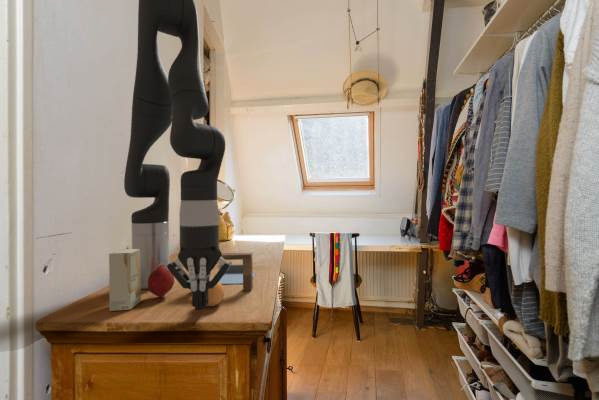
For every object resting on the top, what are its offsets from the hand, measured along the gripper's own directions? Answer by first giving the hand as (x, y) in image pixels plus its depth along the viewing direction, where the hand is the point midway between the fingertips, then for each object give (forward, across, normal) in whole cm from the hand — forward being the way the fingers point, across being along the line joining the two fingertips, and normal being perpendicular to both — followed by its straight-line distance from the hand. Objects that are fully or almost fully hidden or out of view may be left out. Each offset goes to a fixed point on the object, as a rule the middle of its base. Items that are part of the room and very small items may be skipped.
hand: (200, 308), depth 61 cm
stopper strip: (+2, 0, +34) cm, 34 cm away
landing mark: (+1, 0, +28) cm, 28 cm away
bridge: (+1, 0, +16) cm, 17 cm away
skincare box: (+2, -18, +5) cm, 19 cm away
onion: (+2, -13, +11) cm, 17 cm away
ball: (-2, +1, +5) cm, 5 cm away
